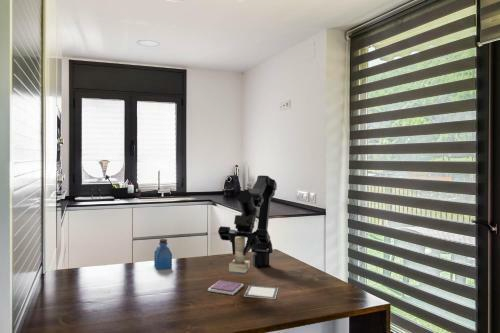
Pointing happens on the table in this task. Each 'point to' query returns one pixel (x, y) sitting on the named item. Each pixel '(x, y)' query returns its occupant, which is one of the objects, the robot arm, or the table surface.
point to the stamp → (239, 258)
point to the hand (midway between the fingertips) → (238, 254)
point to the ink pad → (226, 287)
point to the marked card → (261, 292)
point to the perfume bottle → (163, 256)
